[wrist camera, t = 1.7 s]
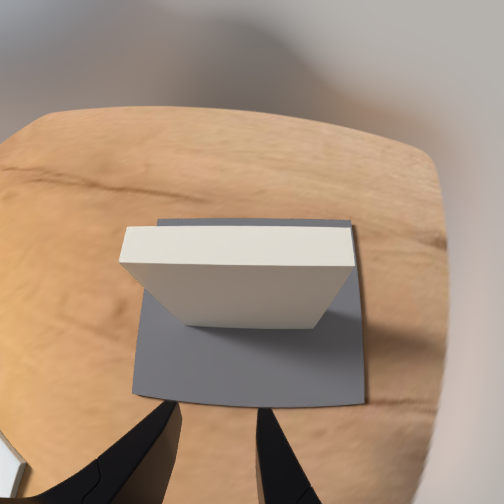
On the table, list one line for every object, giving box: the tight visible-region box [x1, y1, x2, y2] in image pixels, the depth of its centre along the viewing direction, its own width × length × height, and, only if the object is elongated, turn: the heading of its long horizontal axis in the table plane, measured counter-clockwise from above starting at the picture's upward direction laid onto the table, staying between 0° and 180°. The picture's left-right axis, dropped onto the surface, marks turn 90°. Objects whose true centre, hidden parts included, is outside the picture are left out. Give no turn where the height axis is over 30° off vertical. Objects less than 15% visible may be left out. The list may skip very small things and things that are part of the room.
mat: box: [132, 218, 364, 407], centre depth 24 cm, size 16×18×1 cm
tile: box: [119, 226, 355, 329], centre depth 18 cm, size 2×10×12 cm, turn 88°
